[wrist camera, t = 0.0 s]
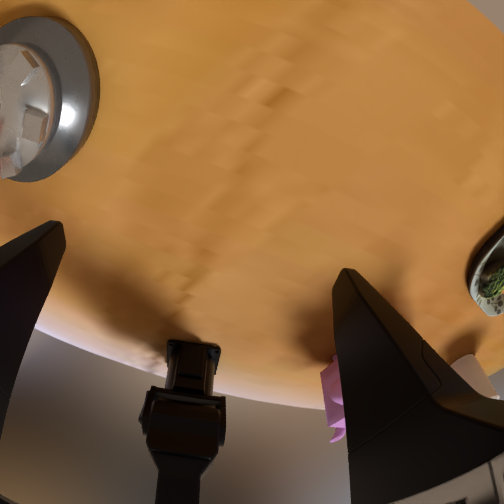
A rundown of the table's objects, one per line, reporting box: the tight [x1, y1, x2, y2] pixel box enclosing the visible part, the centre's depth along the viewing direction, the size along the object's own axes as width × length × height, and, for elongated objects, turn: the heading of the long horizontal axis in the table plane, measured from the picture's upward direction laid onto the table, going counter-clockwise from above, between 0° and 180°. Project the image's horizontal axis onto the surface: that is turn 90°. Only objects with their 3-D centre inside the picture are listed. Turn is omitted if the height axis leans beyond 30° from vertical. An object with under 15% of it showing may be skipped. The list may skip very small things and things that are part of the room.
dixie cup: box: [450, 354, 500, 400], centre depth 39 cm, size 8×8×10 cm
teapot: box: [320, 354, 346, 442], centre depth 33 cm, size 15×13×11 cm
